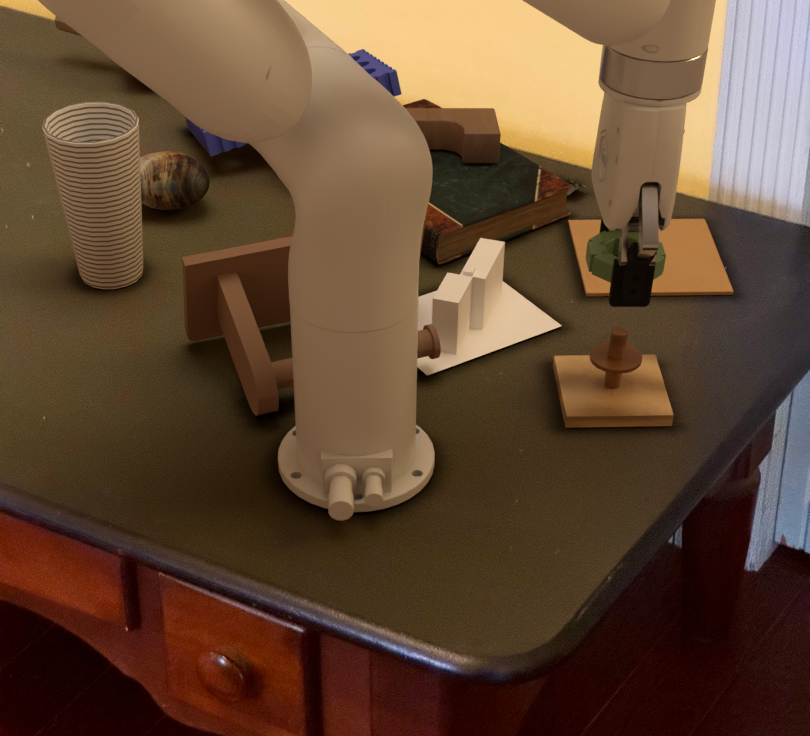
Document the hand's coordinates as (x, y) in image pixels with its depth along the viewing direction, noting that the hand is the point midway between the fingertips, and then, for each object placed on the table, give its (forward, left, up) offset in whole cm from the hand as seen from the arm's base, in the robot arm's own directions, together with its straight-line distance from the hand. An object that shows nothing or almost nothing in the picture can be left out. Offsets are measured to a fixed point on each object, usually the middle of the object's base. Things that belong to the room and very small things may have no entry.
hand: (622, 280), depth 117 cm
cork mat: (+23, -7, -11) cm, 27 cm away
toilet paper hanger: (+6, +25, -13) cm, 28 cm away
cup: (+21, +45, -12) cm, 51 cm away
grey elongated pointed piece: (+36, 0, -10) cm, 38 cm away
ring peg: (0, 0, -11) cm, 11 cm away
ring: (0, 0, +1) cm, 1 cm away
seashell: (+38, +38, -9) cm, 54 cm away
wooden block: (+39, +6, -6) cm, 40 cm away
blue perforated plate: (+50, +28, -5) cm, 57 cm away
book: (+37, +13, -11) cm, 41 cm away
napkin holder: (+12, +12, -11) cm, 20 cm away
